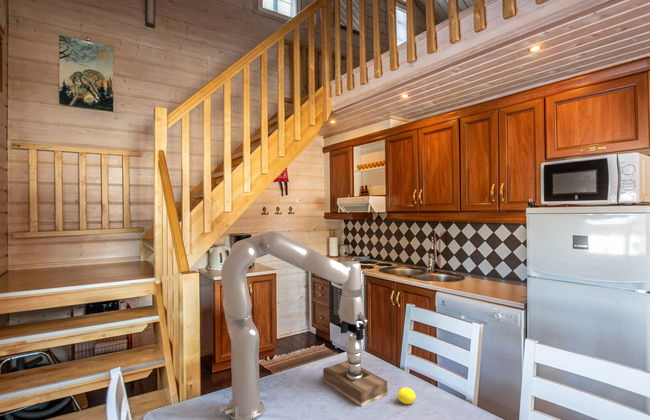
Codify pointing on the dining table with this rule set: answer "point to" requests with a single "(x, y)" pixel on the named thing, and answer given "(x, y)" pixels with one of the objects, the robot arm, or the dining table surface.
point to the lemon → (406, 395)
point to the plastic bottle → (354, 358)
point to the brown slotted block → (355, 384)
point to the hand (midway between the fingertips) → (351, 336)
